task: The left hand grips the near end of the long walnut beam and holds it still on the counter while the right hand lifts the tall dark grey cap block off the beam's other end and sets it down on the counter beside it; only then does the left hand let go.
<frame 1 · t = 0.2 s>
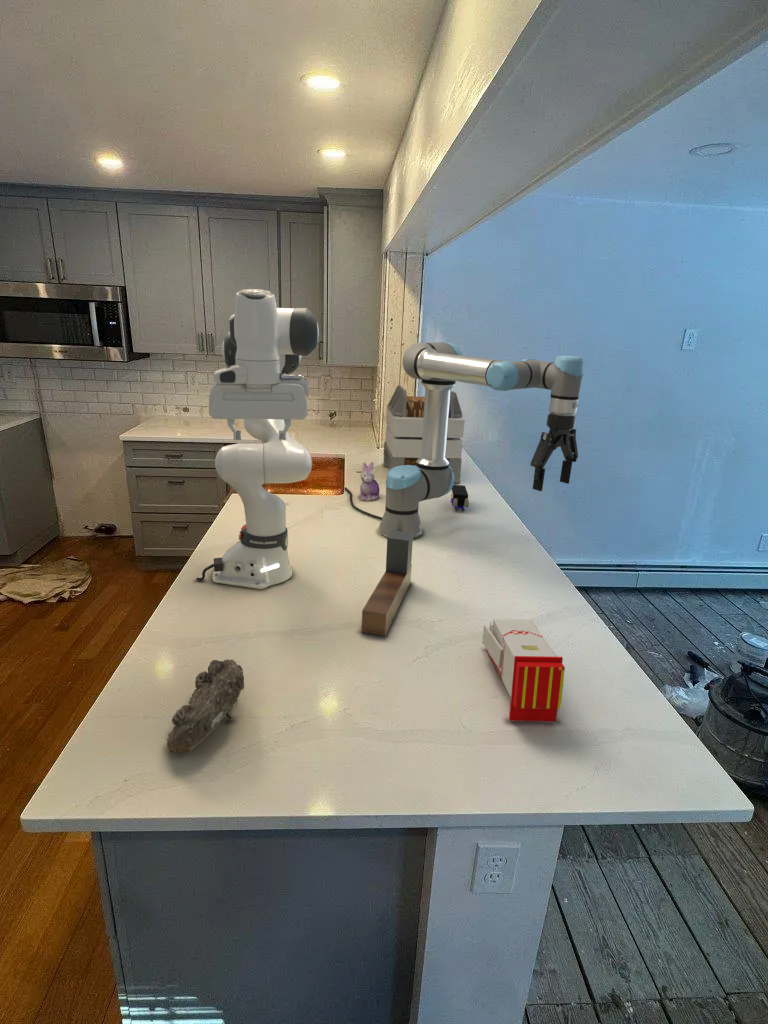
left hand: (260, 439, 121), 47 cm above the counter, fingers open, 8 cm apart
right hand: (551, 486, 165), 28 cm above the counter, fingers open, 13 cm apart
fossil: (212, 717, 108), on the counter
toy: (515, 679, 123), on the counter
figurine character: (458, 507, 230), on the counter
figurine: (369, 498, 236), on the counter
white boxy piece: (419, 473, 275), on the counter
walnut beam: (388, 605, 152), on the counter, touching cap block
cap block: (398, 568, 160), point 6 cm above the counter, touching walnut beam
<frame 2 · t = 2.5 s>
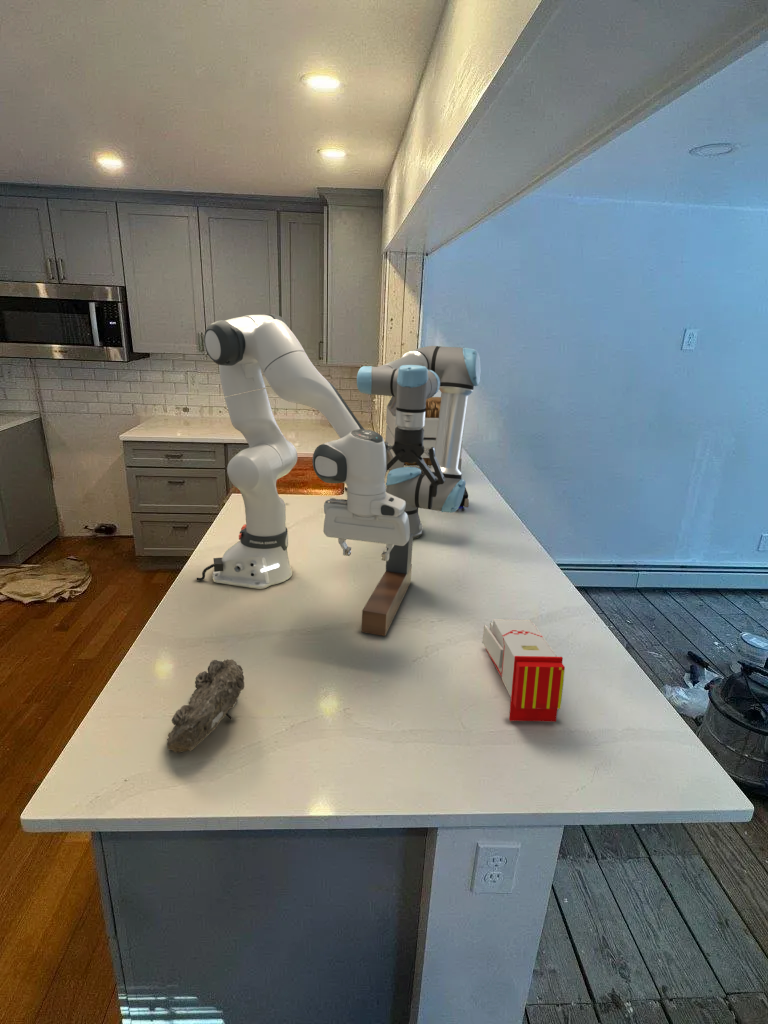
left hand: (366, 557, 134), 19 cm above the counter, fingers open, 8 cm apart
right hand: (405, 505, 153), 25 cm above the counter, fingers open, 13 cm apart
nothing on the counter moved.
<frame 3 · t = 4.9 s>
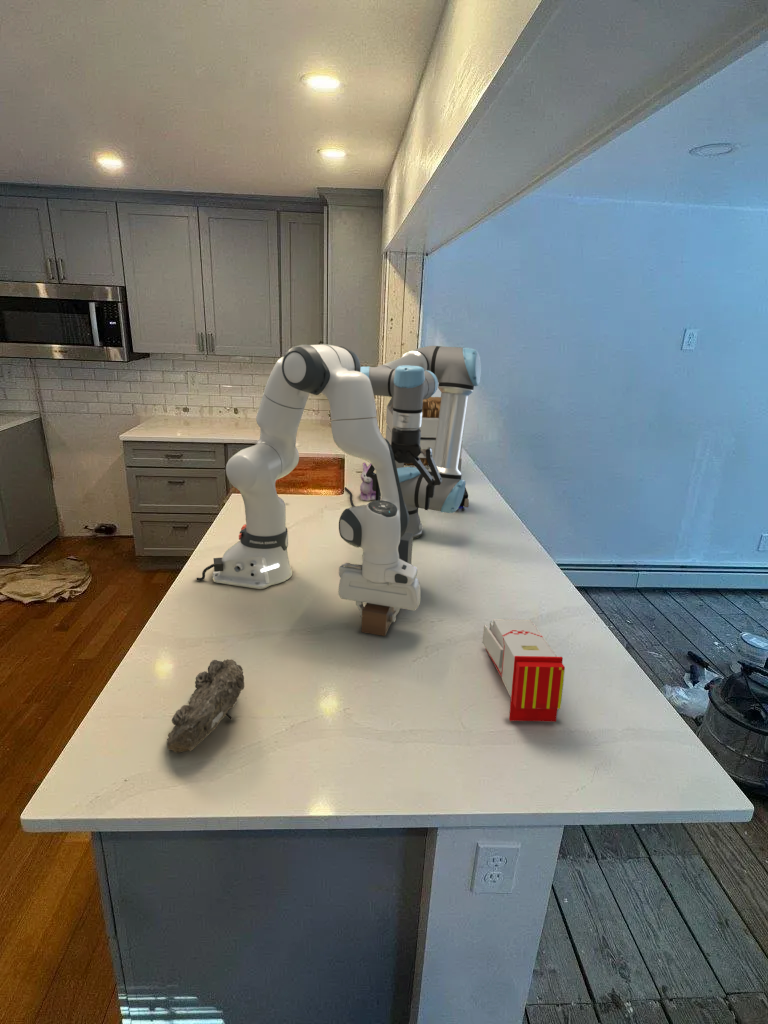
left hand: (378, 618, 141), 2 cm above the counter, fingers closed on walnut beam, 6 cm apart
right hand: (402, 505, 153), 25 cm above the counter, fingers open, 13 cm apart
walnut beam: (388, 605, 152), on the counter, touching cap block, left hand
everything else where it was.
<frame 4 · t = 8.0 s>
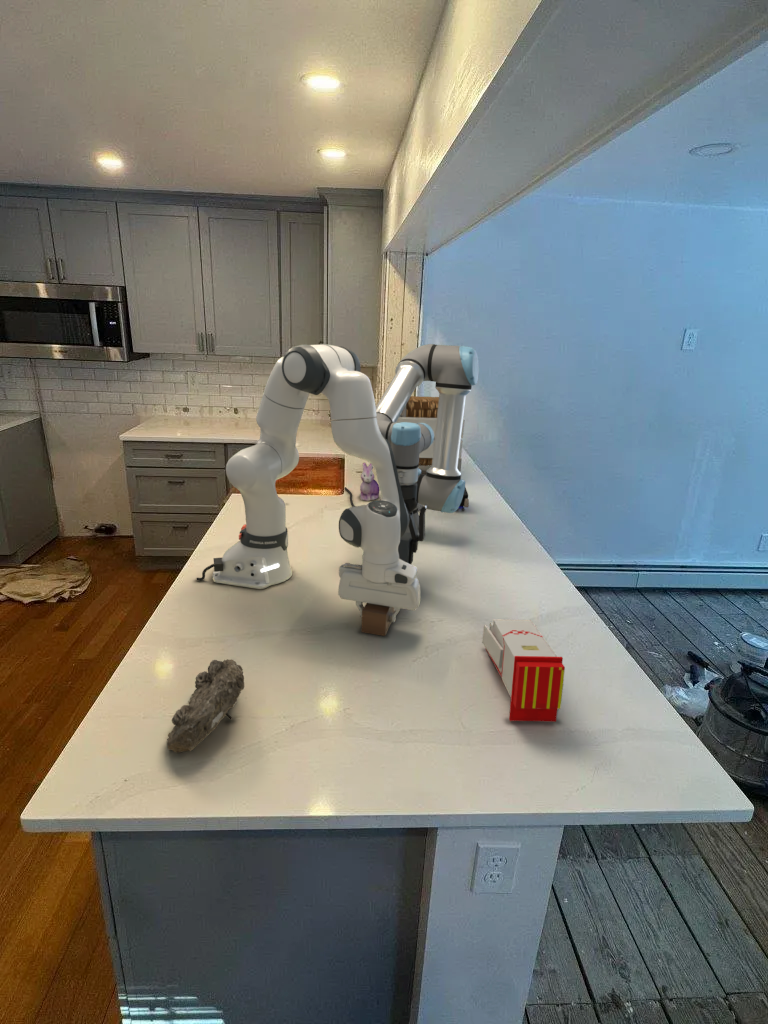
left hand: (378, 618, 141), 2 cm above the counter, fingers closed on walnut beam, 6 cm apart
right hand: (398, 560, 159), 8 cm above the counter, fingers closed on cap block, 6 cm apart
walnut beam: (388, 605, 152), on the counter, touching cap block, left hand
cap block: (398, 568, 160), point 6 cm above the counter, touching right hand, walnut beam
everything else where it was.
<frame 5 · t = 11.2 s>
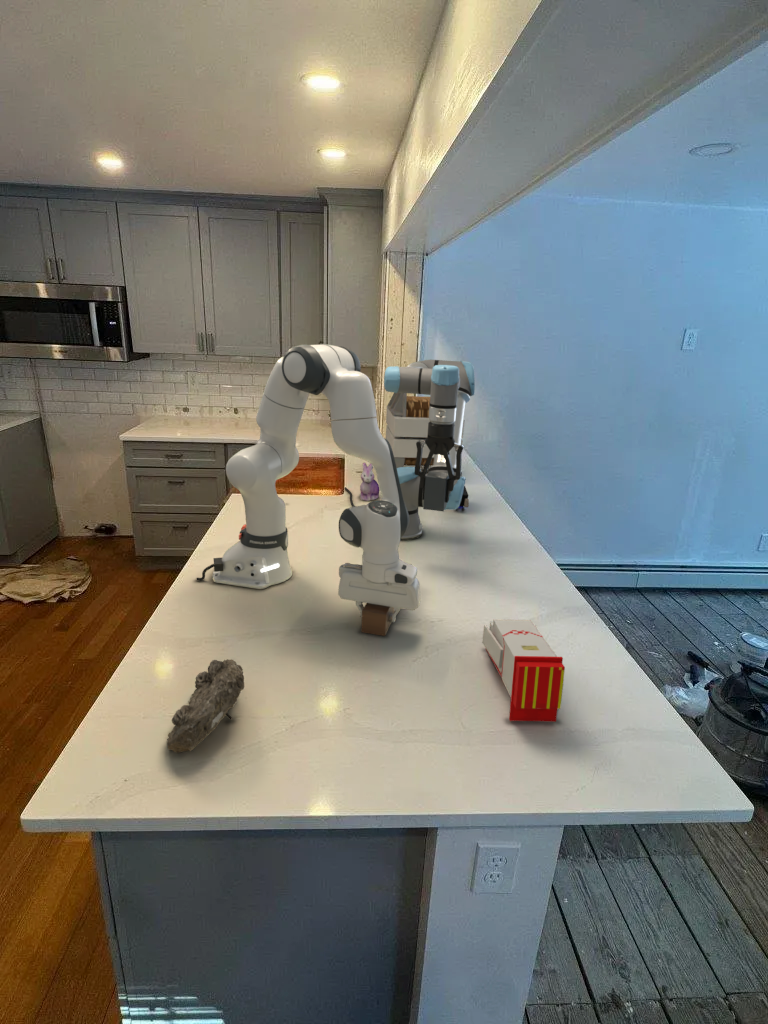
left hand: (377, 618, 141), 2 cm above the counter, fingers closed on walnut beam, 6 cm apart
right hand: (435, 499, 167), 22 cm above the counter, fingers closed on cap block, 6 cm apart
walnut beam: (388, 605, 152), on the counter, touching left hand
cap block: (435, 507, 168), point 20 cm above the counter, touching right hand
everything else where it was.
when the right hand's fingers open (4 cm above the counter, at t = 14.8 s): cap block drops 1 cm, on the counter.
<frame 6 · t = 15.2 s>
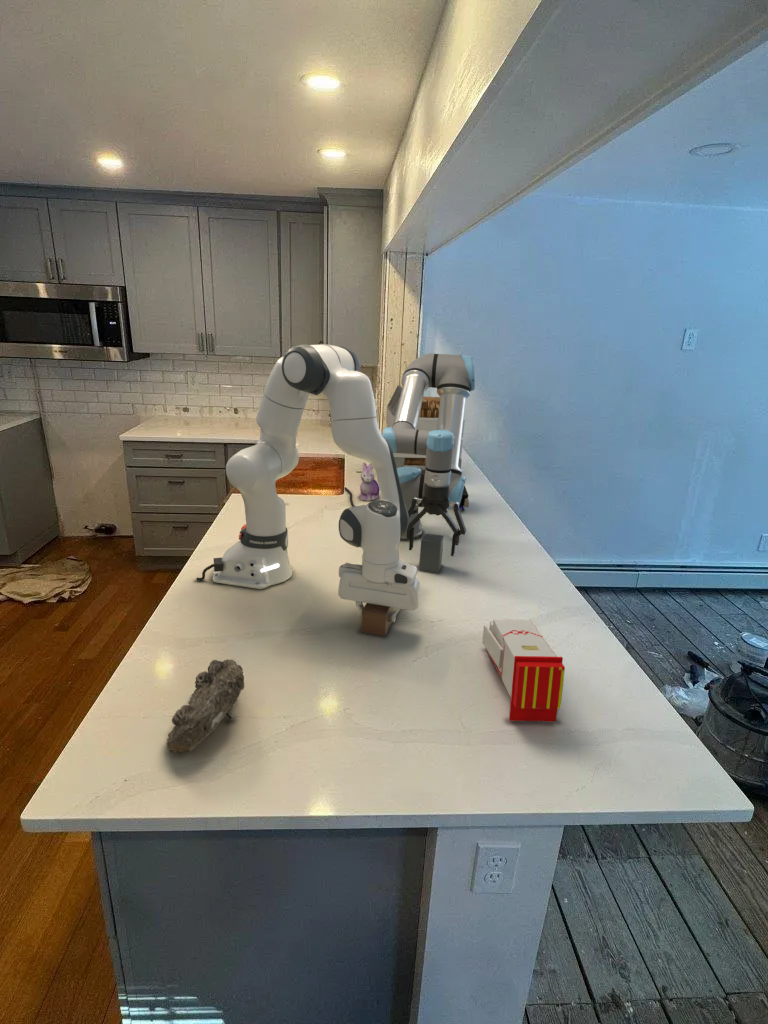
left hand: (377, 618, 141), 2 cm above the counter, fingers closed on walnut beam, 6 cm apart
right hand: (431, 551, 173), 5 cm above the counter, fingers open, 12 cm apart
walnut beam: (388, 605, 152), on the counter, touching left hand
cap block: (430, 567, 175), on the counter
everything else where it was.
when the left hand's fingers open (2 cm above the counter, at t = 17.5 s): walnut beam stays where it is, on the counter.
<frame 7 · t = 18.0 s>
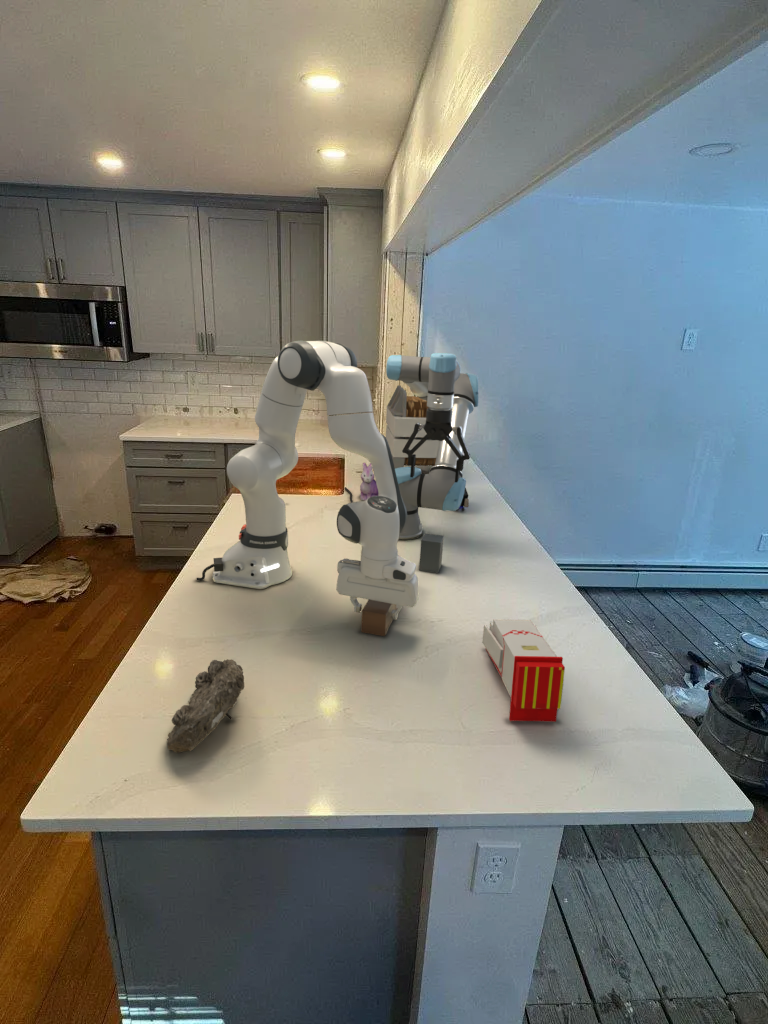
left hand: (375, 614, 140), 3 cm above the counter, fingers open, 8 cm apart
right hand: (434, 478, 172), 27 cm above the counter, fingers open, 13 cm apart
walnut beam: (388, 605, 152), on the counter
everything else where it was.
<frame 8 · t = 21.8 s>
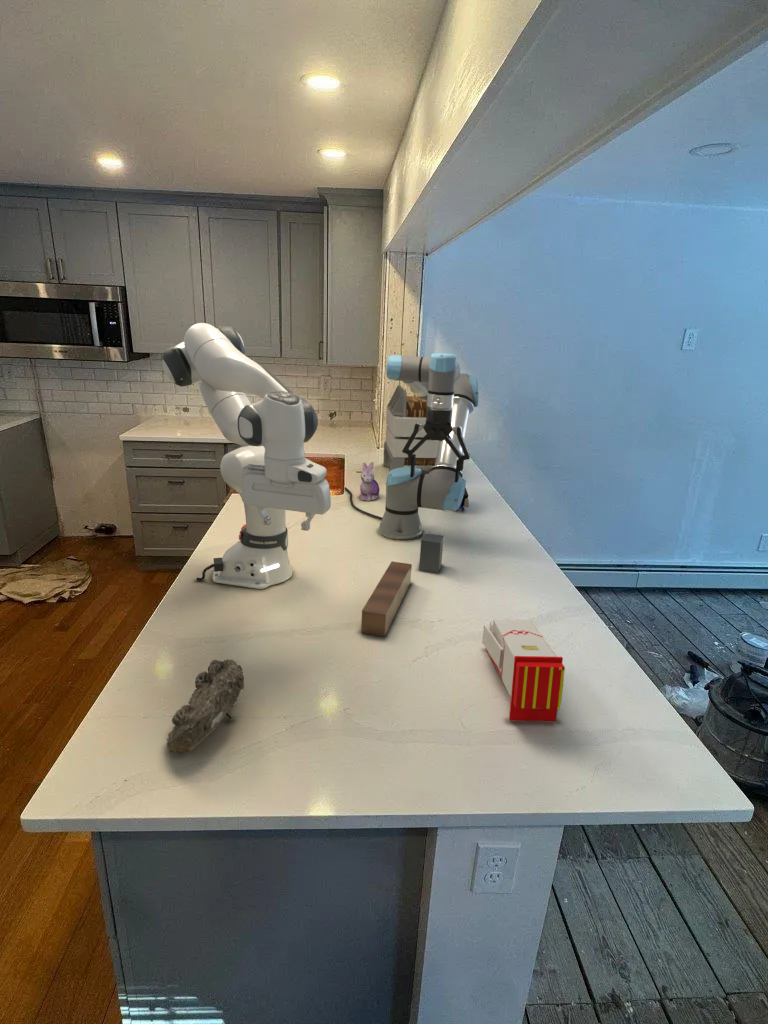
left hand: (286, 527, 128), 27 cm above the counter, fingers open, 8 cm apart
right hand: (434, 478, 172), 27 cm above the counter, fingers open, 13 cm apart
nothing on the counter moved.
at the end: cap block inside the target area (0.0 cm from its centre), on the counter; walnut beam moved 0.1 cm from its start; the left hand is holding nothing; the right hand is holding nothing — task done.
